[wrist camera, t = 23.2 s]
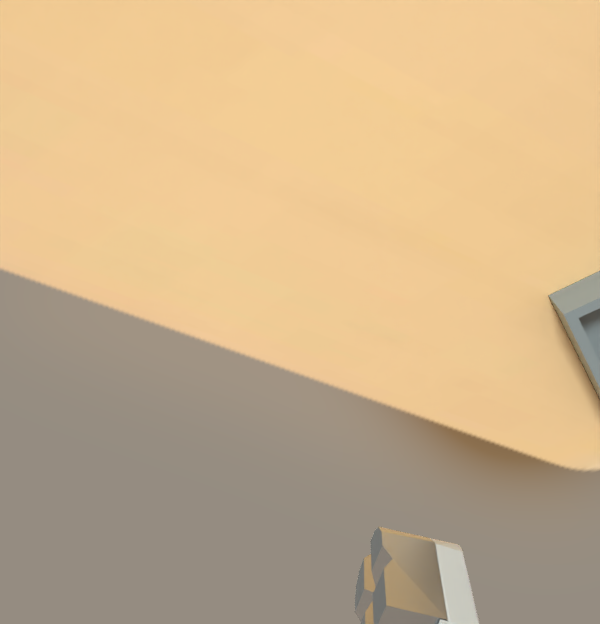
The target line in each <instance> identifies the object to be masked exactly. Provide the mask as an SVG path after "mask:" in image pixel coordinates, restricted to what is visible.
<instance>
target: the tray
mask: <svg viewBox="0 0 600 624" xmlns="http://www.w3.org/2000/svg"><path fill="white" fill-rule="evenodd" d="M548 296H549V298H550V300H551V302H552V304H553V306H554V308H555V310H556V312H557V314H558V316H559V318H560V320H561V322H562V324H563V326H564V328H565V330H566V332H567V334H568V336H569V338H570V340H571V342H572V344H573V346H574V348H575V350H576V352H577V354H578V356H579V358H580V361H581V363H582V365H583V367H584V369H585V371H586V373H587V375H588V377H589V379H590V381H591V383H592V385H593V387H594V389H595V391H596V393H597V395H598V397H599V399H600V271H599V272H597V273H595V274H593V275H590V276H588V277H586V278H584V279H582V280H580V281H578V282H576V283H574V284H572V285H569V286H567V287H565V288H563V289H561V290H559V291H557V292H555V293H553V294H551V295H548Z"/></svg>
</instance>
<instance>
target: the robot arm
mask: <svg viewBox="0 0 600 624" xmlns="http://www.w3.org/2000/svg"><path fill="white" fill-rule="evenodd" d="M355 613H356V614H357V616H358V618H359V619H360V621H361V624H479V620H478V616H477V611H476V607H475V602H474V599H473V594H472V590H471V585H470V581H469V576H468V572H467V568H466V564H465V559H464V555H463V550H462V549H461V547H460V546H459V545H458V544H454V543H449V542H445V541H440V540H436V539H430V538H427V537H422V536H418V535H413V534H409V533H404V532H399V531H395V530H390V529H386V528H382V527H378V528H377V529H376V530H375V532H374V535H373V537H372V539H371V554H370V555H368V556H367V557H365V558H364V559H363V562H362V565H361V568H360V571H359V575H358V581H357V585H356V595H355Z"/></svg>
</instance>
